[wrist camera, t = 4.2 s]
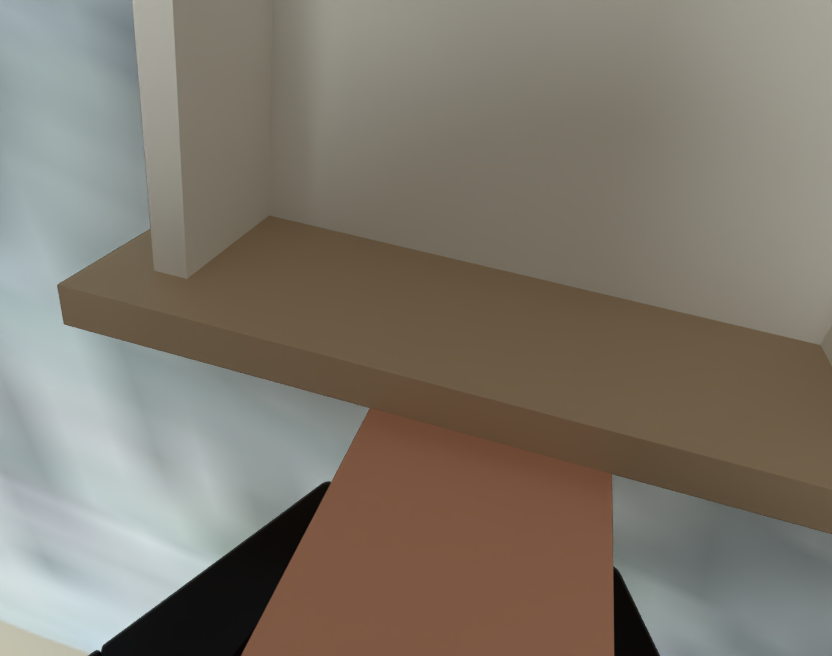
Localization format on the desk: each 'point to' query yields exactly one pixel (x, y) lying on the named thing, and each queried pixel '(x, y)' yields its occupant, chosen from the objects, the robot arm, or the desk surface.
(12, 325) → the desk surface
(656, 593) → the desk surface
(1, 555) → the desk surface
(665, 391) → the tray
